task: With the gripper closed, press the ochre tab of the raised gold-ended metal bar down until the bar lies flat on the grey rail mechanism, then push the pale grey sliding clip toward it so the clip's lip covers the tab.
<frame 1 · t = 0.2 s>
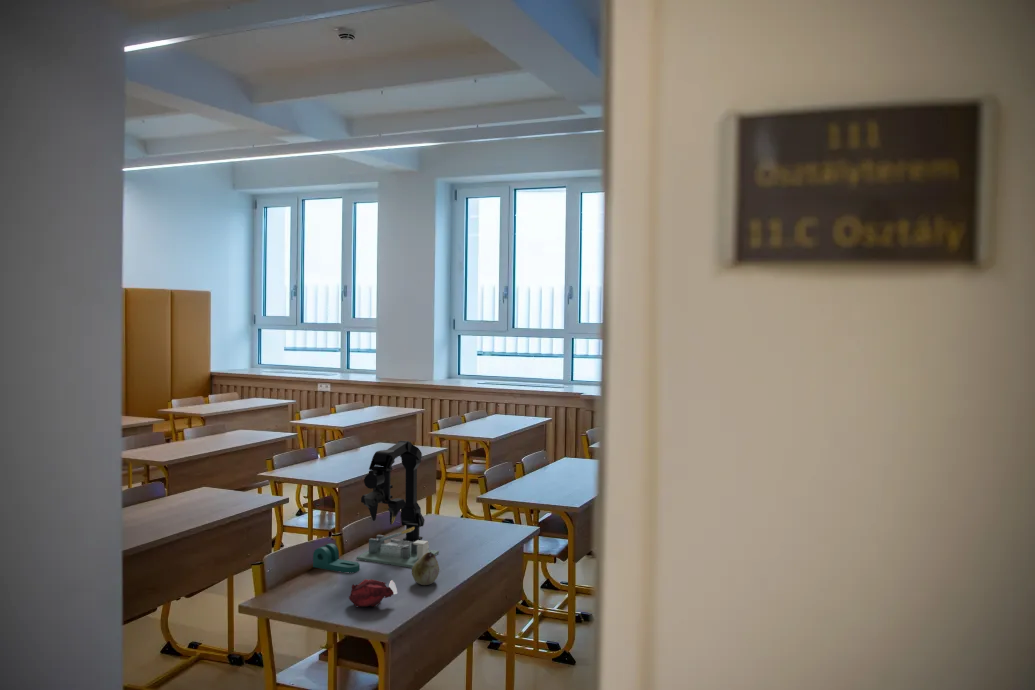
hand: (382, 522, 290), 14 cm above the table, tool pointing down, fingers open, 9 cm apart
bracket: (338, 568, 278), on the table
board: (398, 556, 293), on the table
gold-ended metal bar: (393, 535, 293), point 8 cm above the table, hinge at 22.0°
red meat drumstick: (371, 607, 240), on the table
clip: (420, 549, 289), point 4 cm above the table, slide at 0.0 cm
grey rail mechanism: (396, 556, 293), resting on board
fruit: (425, 583, 263), on the table
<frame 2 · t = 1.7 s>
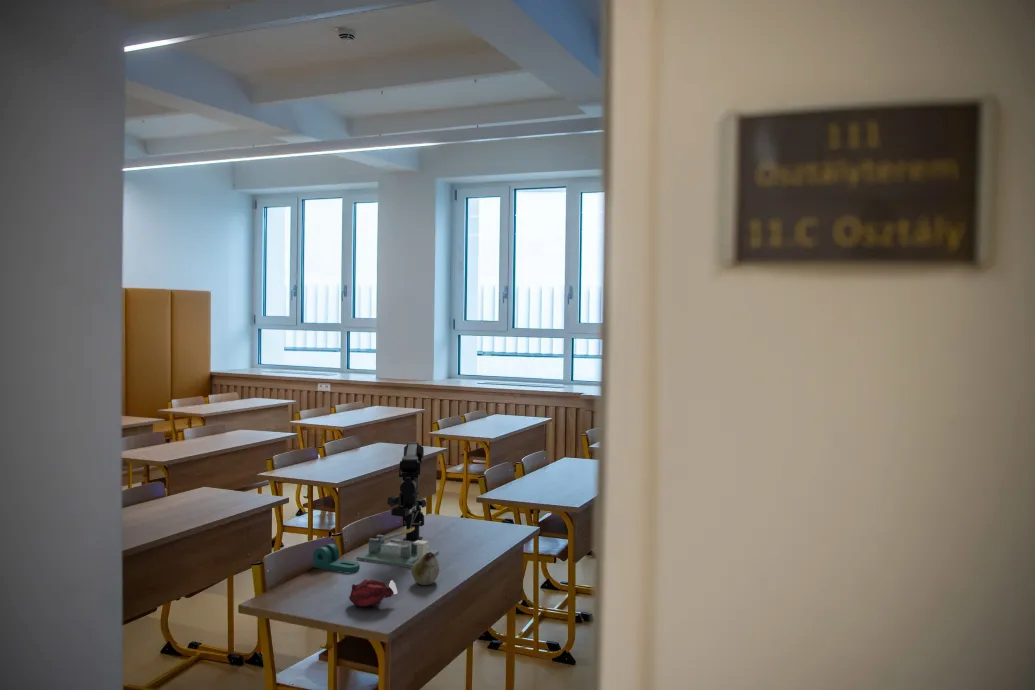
hand: (408, 528, 291), 12 cm above the table, tool pointing down, fingers closed, pressing on gold-ended metal bar
gold-ended metal bar: (393, 535, 293), point 8 cm above the table, hinge at 21.7°, touching gripper
everything else where it was.
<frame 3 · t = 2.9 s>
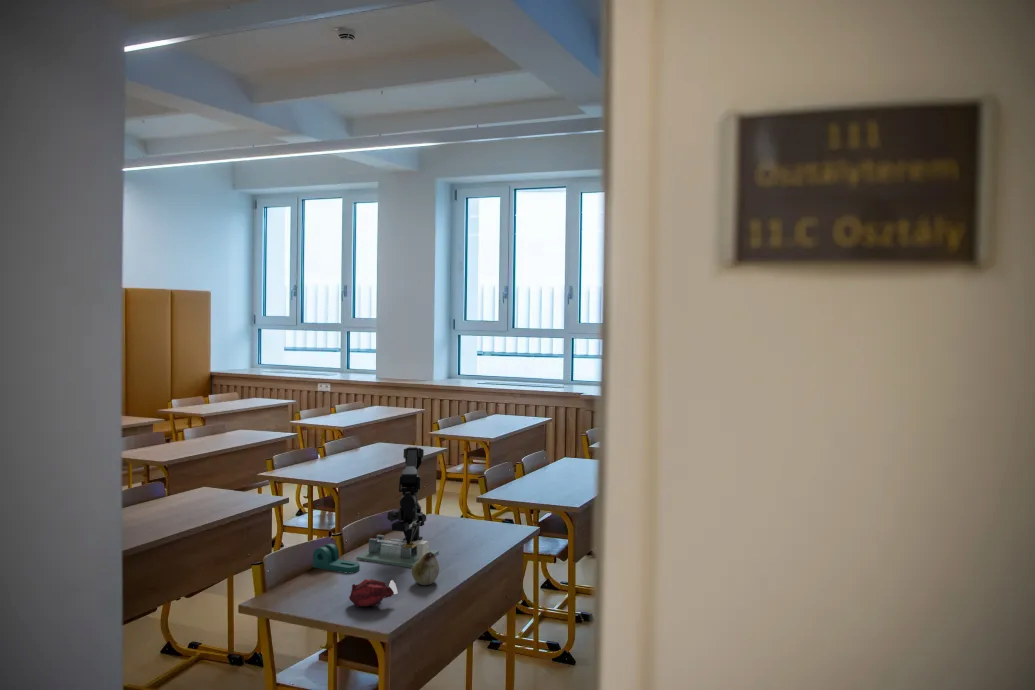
hand: (408, 543, 291), 6 cm above the table, tool pointing down, fingers closed, pressing on gold-ended metal bar
gold-ended metal bar: (394, 543, 293), point 5 cm above the table, hinge at 0.6°, touching gripper
everything else where it was.
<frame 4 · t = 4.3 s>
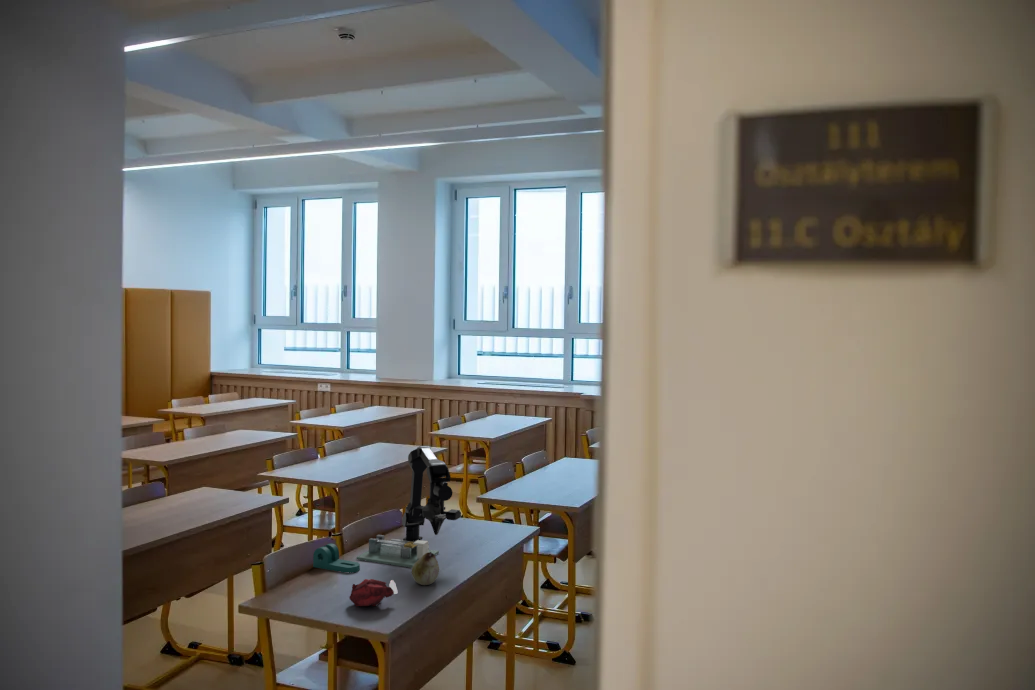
hand: (436, 534, 286), 11 cm above the table, tool pointing down, fingers closed
gold-ended metal bar: (394, 543, 293), point 5 cm above the table, hinge at 0.6°
everything else where it was.
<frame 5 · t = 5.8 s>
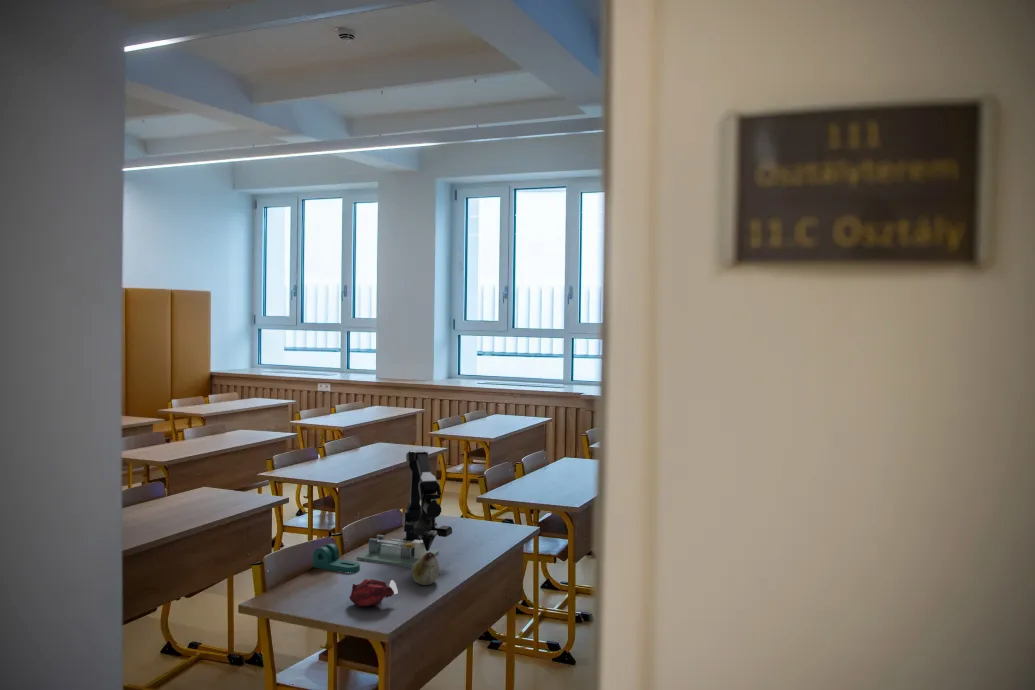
hand: (427, 550, 288), 4 cm above the table, tool pointing down, fingers closed
clip: (418, 548, 289), point 4 cm above the table, slide at 1.2 cm, touching gripper
everything else where it was.
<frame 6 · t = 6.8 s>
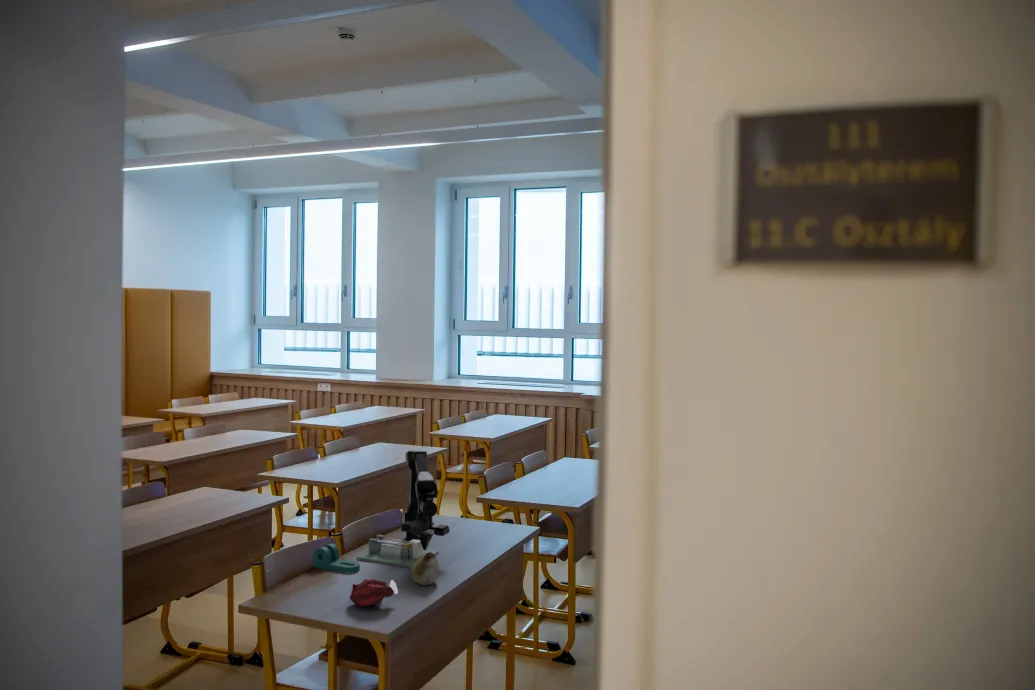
hand: (425, 550, 288), 4 cm above the table, tool pointing down, fingers closed
clip: (415, 548, 290), point 4 cm above the table, slide at 2.2 cm
everything else where it was.
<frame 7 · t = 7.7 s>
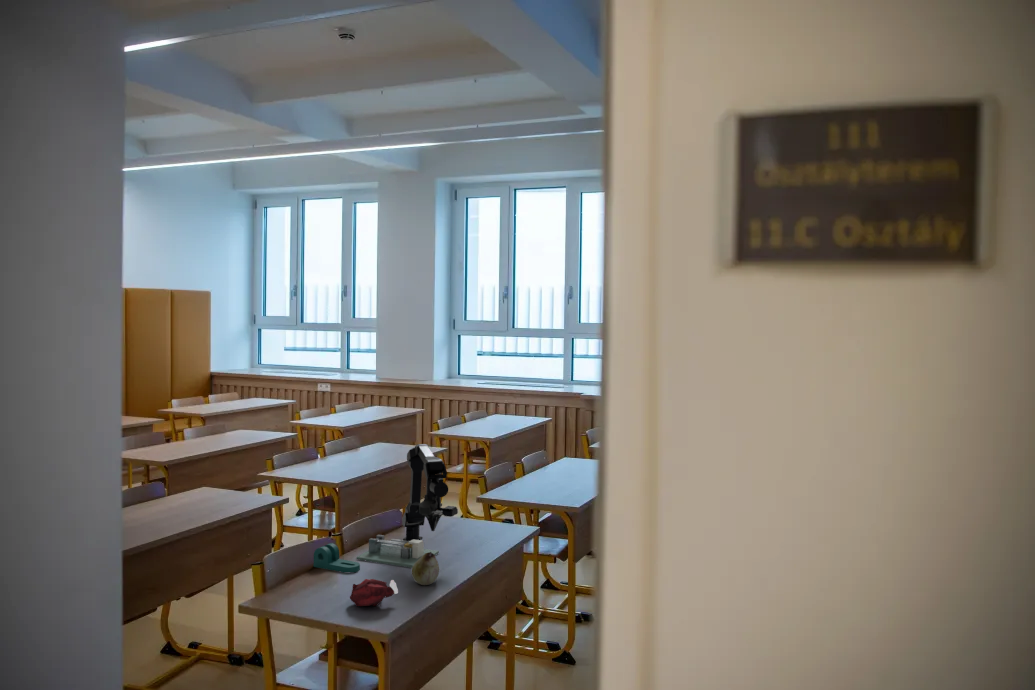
hand: (433, 530, 287), 12 cm above the table, tool pointing down, fingers closed
nothing on the table moved.
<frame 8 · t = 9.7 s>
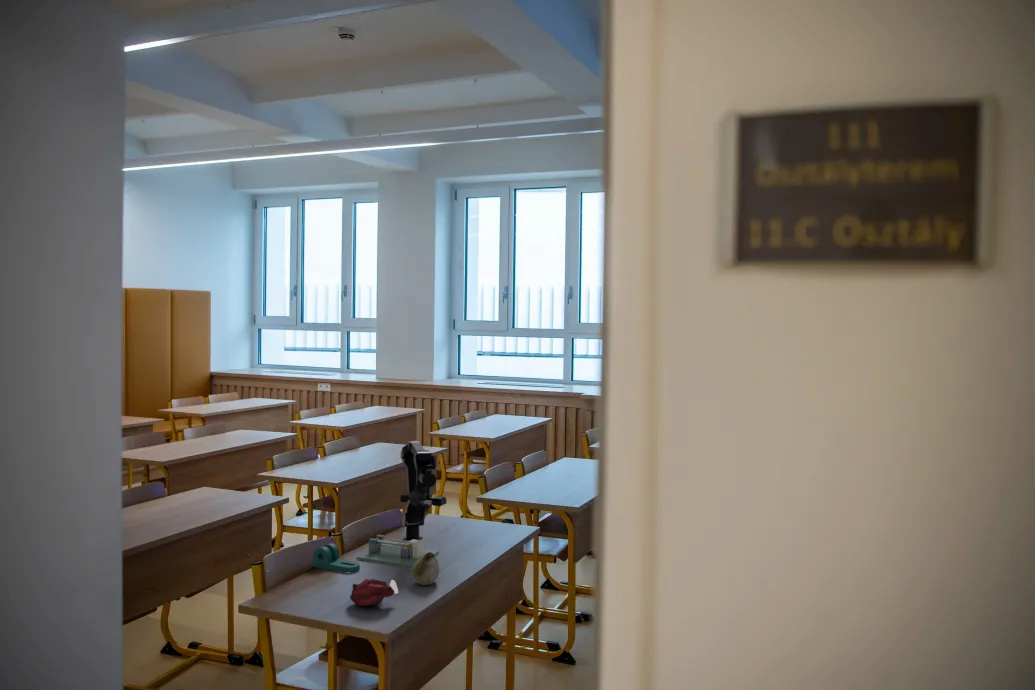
hand: (422, 520, 299), 13 cm above the table, tool pointing down, fingers closed
nothing on the table moved.
at the end: gold-ended metal bar at +1° (first picture: +22°); clip slide at 2.2 cm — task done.
